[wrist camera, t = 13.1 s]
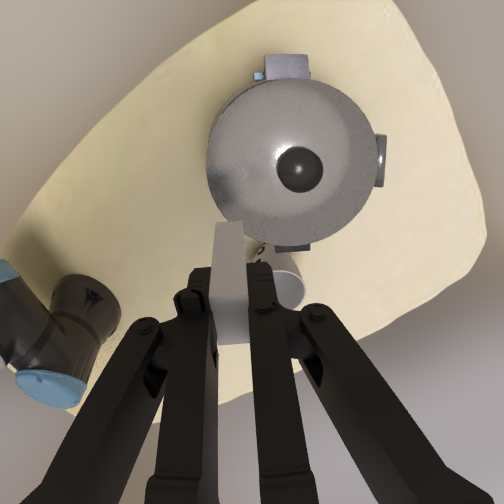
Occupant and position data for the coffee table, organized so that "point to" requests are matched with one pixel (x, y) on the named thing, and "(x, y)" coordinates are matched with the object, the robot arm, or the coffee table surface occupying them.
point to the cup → (283, 276)
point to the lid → (293, 161)
